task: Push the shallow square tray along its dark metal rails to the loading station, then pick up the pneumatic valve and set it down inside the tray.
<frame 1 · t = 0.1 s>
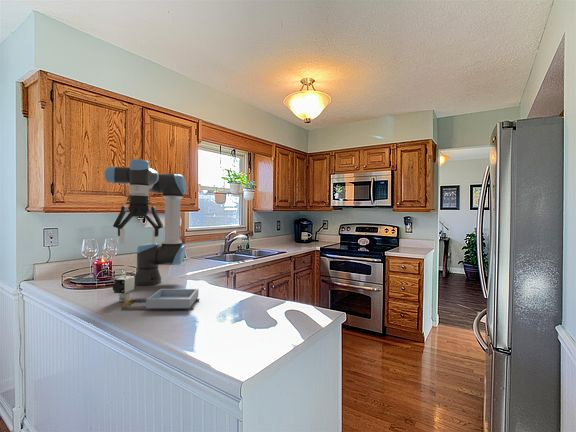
hand: (138, 244, 135), 28 cm above the countertop, fingers open, 13 cm apart
pneumatic valve: (123, 301, 146), on the countertop
rails: (162, 304, 140), on the countertop
shallow square tray: (174, 297, 141), point 3 cm above the countertop, slide at 0.0 cm
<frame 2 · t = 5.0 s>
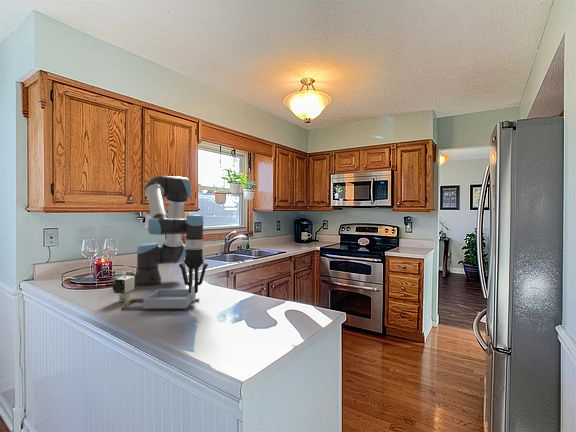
hand: (193, 299, 141), 2 cm above the countertop, fingers closed
shallow square tray: (171, 297, 141), point 3 cm above the countertop, slide at 1.2 cm, touching gripper
everything else where it was.
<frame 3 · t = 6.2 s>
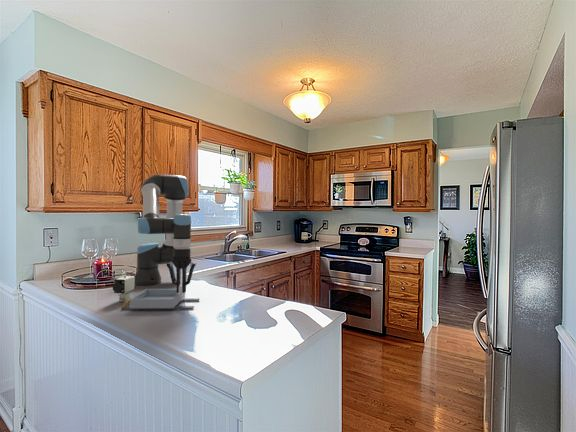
hand: (181, 299, 141), 2 cm above the countertop, fingers closed
shallow square tray: (159, 297, 140), point 3 cm above the countertop, slide at 6.7 cm, touching gripper
everything else where it was.
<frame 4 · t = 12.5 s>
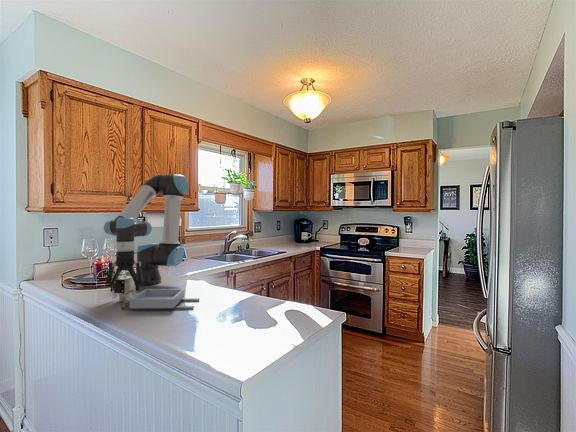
hand: (125, 298, 146), 1 cm above the countertop, fingers open, 9 cm apart
shallow square tray: (158, 297, 140), point 3 cm above the countertop, slide at 6.7 cm
everything else where it was.
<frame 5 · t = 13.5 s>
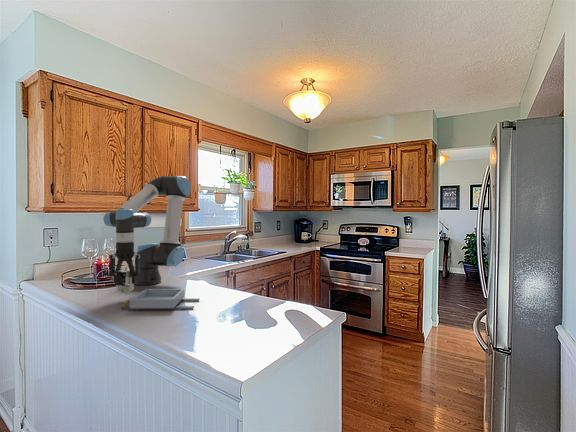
hand: (125, 290, 146), 5 cm above the countertop, fingers closed on pneumatic valve, 5 cm apart
pneumatic valve: (124, 293, 146), point 3 cm above the countertop, touching gripper
everything else where it was.
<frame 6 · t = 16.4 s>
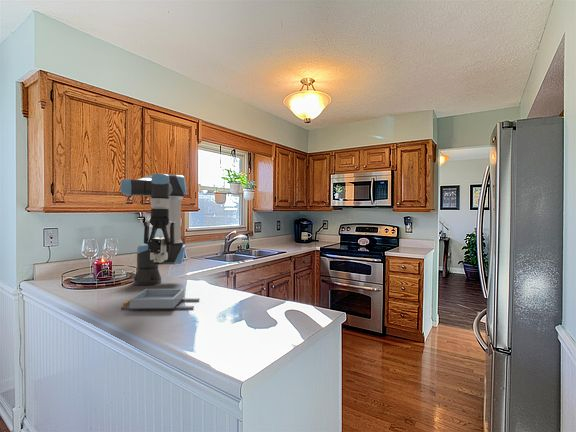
hand: (158, 259, 140), 21 cm above the countertop, fingers closed on pneumatic valve, 5 cm apart
pneumatic valve: (157, 262, 140), point 19 cm above the countertop, touching gripper
everything else where it was.
when the fingers open (4 cm above the countertop, at t = 19.5 s): pneumatic valve stays where it is, resting on shallow square tray.
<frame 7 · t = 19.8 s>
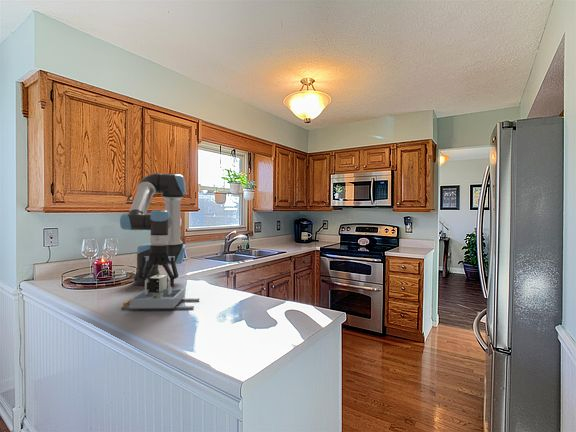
hand: (158, 293, 140), 5 cm above the countertop, fingers open, 9 cm apart
pneumatic valve: (157, 300, 140), point 2 cm above the countertop, touching shallow square tray
shallow square tray: (159, 297, 140), point 3 cm above the countertop, slide at 6.7 cm, touching pneumatic valve
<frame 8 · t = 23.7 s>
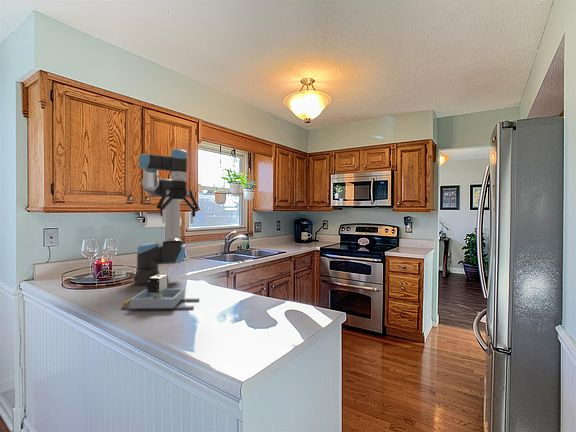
hand: (177, 223, 155), 37 cm above the countertop, fingers open, 13 cm apart
nothing on the countertop moved.
at the end: shallow square tray slide at 6.7 cm; pneumatic valve inside the target area (0.0 cm from its centre), point 1.9 cm above the countertop; the gripper is holding nothing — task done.
